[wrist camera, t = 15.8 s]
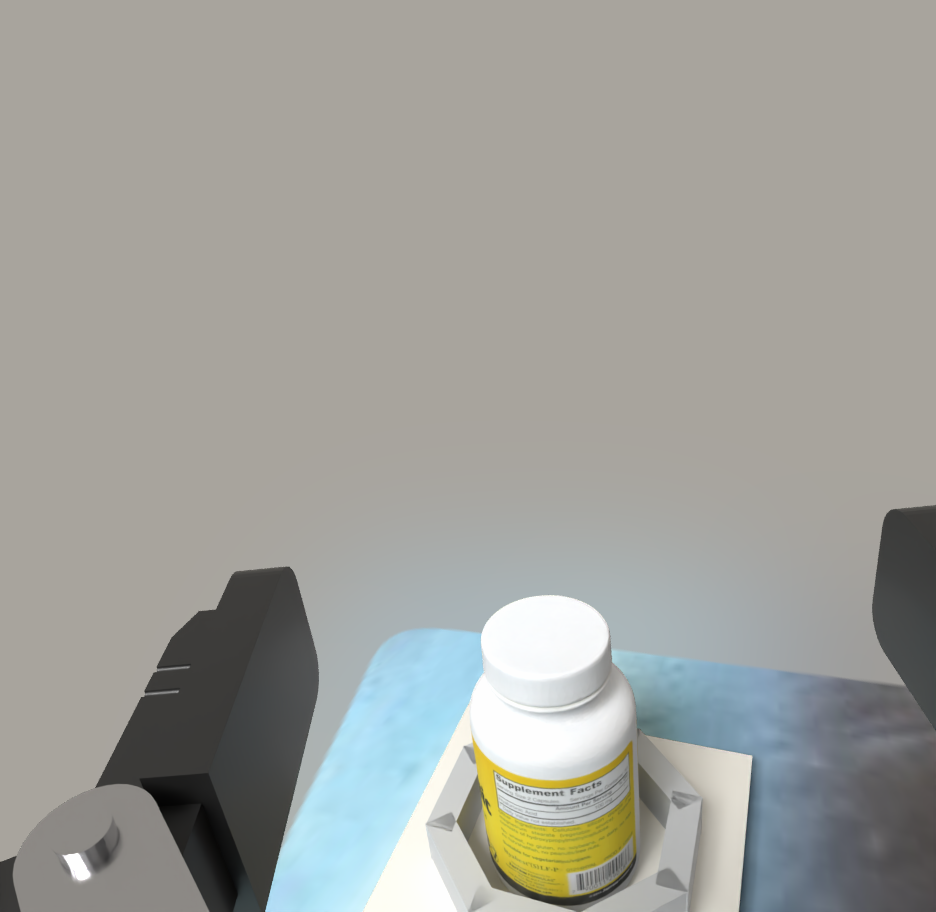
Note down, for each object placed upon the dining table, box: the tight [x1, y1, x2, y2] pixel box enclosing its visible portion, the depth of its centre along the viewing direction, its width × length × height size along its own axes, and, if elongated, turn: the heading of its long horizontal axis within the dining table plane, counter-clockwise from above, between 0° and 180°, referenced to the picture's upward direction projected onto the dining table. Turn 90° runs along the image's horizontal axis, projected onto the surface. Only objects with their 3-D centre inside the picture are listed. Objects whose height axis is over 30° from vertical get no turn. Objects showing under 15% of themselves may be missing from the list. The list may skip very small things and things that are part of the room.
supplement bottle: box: [469, 595, 640, 912], centre depth 27 cm, size 5×5×10 cm
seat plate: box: [363, 702, 752, 912], centre depth 29 cm, size 12×12×3 cm
